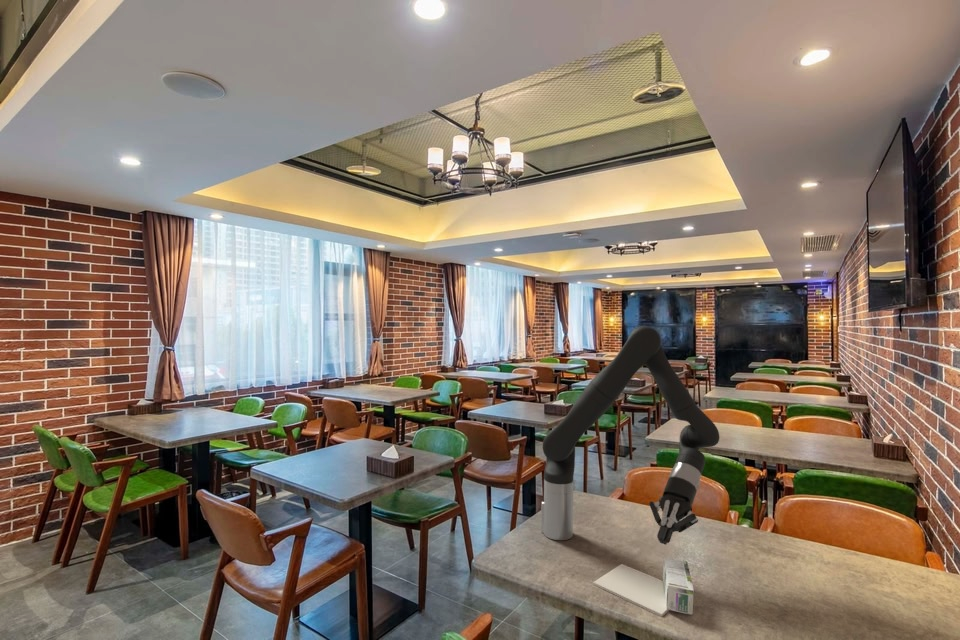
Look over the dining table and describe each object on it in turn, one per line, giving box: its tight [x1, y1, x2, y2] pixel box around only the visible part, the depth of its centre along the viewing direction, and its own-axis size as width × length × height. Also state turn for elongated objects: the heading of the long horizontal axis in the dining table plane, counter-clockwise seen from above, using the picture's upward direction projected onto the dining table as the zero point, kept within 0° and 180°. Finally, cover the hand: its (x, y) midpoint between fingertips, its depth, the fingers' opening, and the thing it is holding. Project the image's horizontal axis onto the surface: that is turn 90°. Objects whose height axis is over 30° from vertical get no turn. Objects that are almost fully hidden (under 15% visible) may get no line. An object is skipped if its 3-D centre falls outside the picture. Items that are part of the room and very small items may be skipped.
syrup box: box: [662, 557, 695, 616], centre depth 112 cm, size 6×6×14 cm
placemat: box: [592, 563, 670, 618], centre depth 116 cm, size 18×14×1 cm
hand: (662, 542), depth 118 cm, fingers closed
